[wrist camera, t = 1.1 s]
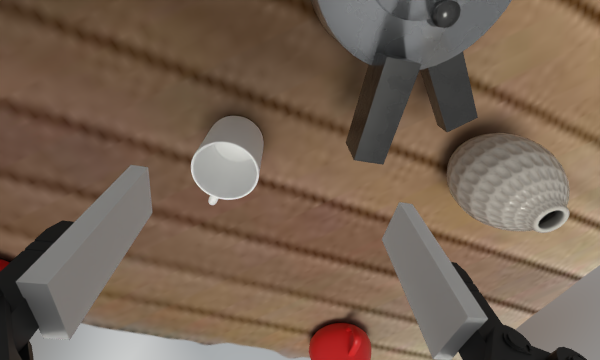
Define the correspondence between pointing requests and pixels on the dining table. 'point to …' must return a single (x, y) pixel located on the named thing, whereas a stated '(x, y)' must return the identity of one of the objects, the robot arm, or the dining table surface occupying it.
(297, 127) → the dining table surface
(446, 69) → the pot
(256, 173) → the cup
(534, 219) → the vase
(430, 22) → the lid
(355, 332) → the teapot
